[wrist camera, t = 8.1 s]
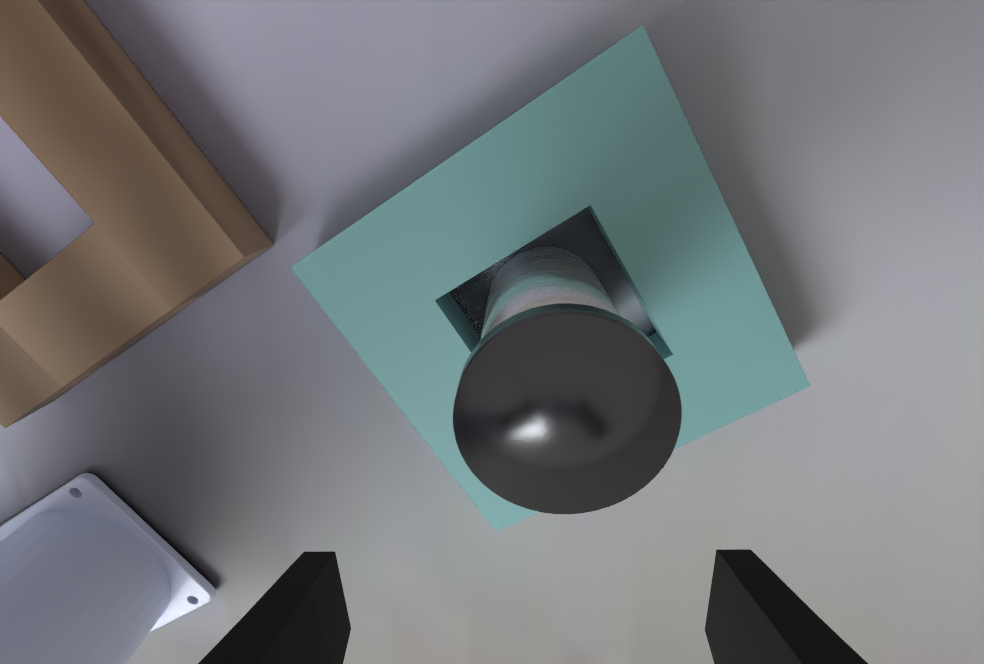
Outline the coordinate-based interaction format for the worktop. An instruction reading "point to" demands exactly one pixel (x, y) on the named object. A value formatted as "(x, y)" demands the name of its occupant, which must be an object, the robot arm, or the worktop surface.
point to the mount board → (103, 205)
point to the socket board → (532, 212)
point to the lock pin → (562, 392)
